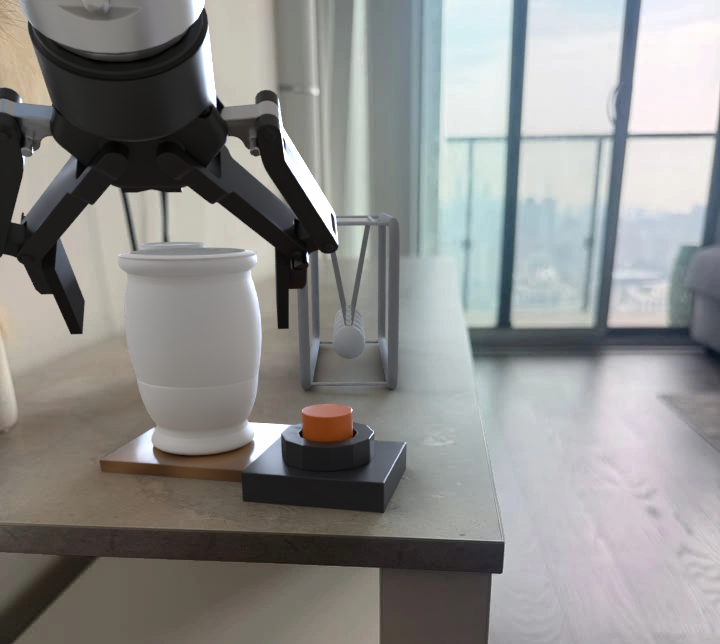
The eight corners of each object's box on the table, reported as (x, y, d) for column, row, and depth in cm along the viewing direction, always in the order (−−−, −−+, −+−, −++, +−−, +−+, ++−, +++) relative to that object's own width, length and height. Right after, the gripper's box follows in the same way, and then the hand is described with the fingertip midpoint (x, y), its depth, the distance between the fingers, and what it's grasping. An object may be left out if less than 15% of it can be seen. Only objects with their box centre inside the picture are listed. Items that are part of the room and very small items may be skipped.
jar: (270, 458, 58) (260, 254, 52) (131, 466, 56) (106, 257, 51) (264, 420, 67) (254, 245, 62) (145, 426, 66) (125, 248, 61)
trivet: (100, 471, 58) (98, 459, 58) (170, 428, 69) (169, 417, 68) (246, 483, 55) (246, 470, 55) (295, 435, 66) (295, 424, 66)
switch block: (242, 502, 52) (238, 447, 51) (283, 460, 60) (281, 412, 59) (383, 513, 50) (384, 457, 48) (406, 468, 58) (407, 419, 57)
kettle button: (296, 443, 52) (295, 415, 52) (310, 429, 56) (309, 402, 55) (346, 447, 52) (345, 418, 51) (357, 432, 55) (357, 404, 54)
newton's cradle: (312, 343, 108) (309, 212, 102) (385, 342, 108) (386, 212, 102) (300, 394, 80) (294, 218, 74) (398, 393, 80) (400, 218, 74)
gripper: (-224, 64, 29) (-18, 367, 48) (418, 73, 32) (369, 356, 51) (-185, -58, 32) (-6, 274, 51) (398, -40, 35) (358, 268, 54)
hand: (181, 315), depth 51 cm, fingers open, 13 cm apart
